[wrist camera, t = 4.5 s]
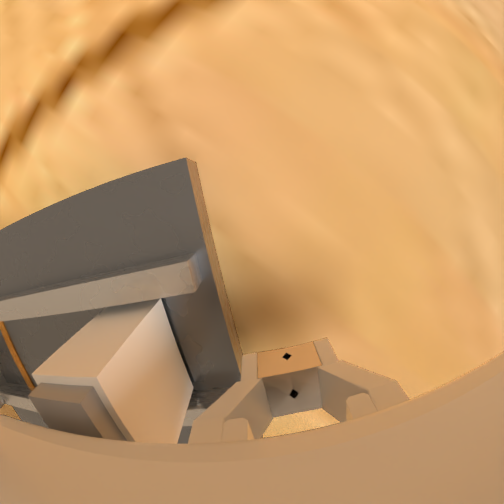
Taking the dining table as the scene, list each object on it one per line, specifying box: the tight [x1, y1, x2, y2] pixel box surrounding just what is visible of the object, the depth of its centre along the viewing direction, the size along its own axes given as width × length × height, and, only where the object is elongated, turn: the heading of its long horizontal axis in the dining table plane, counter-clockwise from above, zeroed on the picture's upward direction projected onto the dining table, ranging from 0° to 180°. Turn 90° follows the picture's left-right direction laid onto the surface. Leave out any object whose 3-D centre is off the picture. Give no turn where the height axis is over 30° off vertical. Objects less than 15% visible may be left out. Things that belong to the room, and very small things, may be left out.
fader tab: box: [28, 298, 194, 444], centre depth 9 cm, size 3×5×7 cm, turn 12°
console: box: [0, 158, 263, 444], centre depth 12 cm, size 22×16×5 cm
